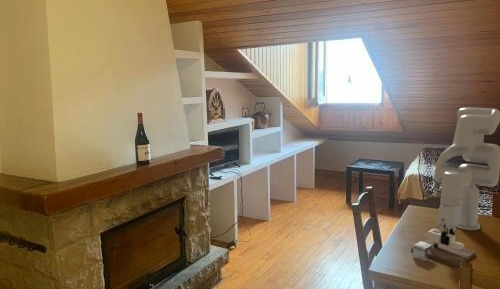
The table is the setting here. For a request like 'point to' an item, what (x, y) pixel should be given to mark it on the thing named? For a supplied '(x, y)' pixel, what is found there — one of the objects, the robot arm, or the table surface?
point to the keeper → (421, 250)
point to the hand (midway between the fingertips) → (447, 242)
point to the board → (449, 254)
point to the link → (435, 237)
